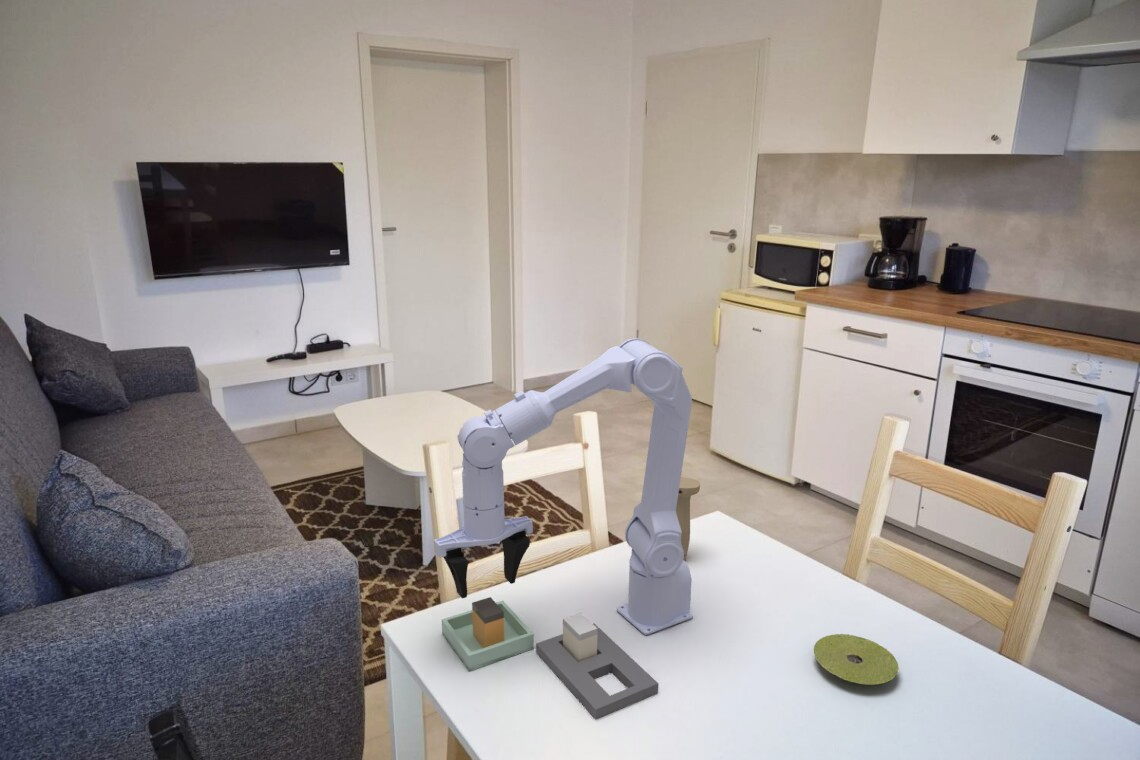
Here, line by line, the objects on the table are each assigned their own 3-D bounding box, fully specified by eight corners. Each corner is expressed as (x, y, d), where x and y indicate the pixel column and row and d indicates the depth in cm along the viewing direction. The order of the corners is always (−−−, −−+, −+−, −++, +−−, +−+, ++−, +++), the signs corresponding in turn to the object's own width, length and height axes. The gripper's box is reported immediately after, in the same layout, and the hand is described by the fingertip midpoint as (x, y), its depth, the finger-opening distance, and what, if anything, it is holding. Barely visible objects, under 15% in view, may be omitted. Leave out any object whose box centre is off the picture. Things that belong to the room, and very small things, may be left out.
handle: (694, 567, 132) (699, 489, 128) (658, 563, 134) (661, 486, 130) (696, 554, 137) (700, 478, 133) (661, 550, 138) (664, 475, 134)
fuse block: (593, 631, 114) (594, 623, 113) (658, 692, 101) (658, 683, 100) (536, 652, 109) (536, 643, 108) (595, 719, 96) (595, 709, 95)
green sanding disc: (835, 635, 113) (836, 624, 113) (910, 669, 106) (912, 657, 105) (797, 668, 106) (798, 656, 105) (875, 708, 98) (877, 695, 98)
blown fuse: (491, 629, 113) (490, 597, 112) (504, 644, 110) (503, 611, 108) (473, 635, 112) (472, 602, 111) (485, 651, 108) (484, 617, 107)
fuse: (580, 645, 111) (580, 612, 109) (596, 661, 107) (597, 628, 106) (562, 651, 109) (562, 618, 108) (579, 668, 106) (579, 634, 104)
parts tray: (503, 614, 118) (502, 600, 117) (533, 648, 110) (533, 634, 109) (442, 633, 113) (441, 619, 112) (469, 671, 105) (468, 656, 104)
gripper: (516, 481, 112) (518, 562, 116) (424, 502, 105) (429, 588, 109) (539, 498, 106) (540, 583, 110) (443, 522, 99) (447, 612, 103)
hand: (486, 587), depth 109 cm, fingers open, 7 cm apart
